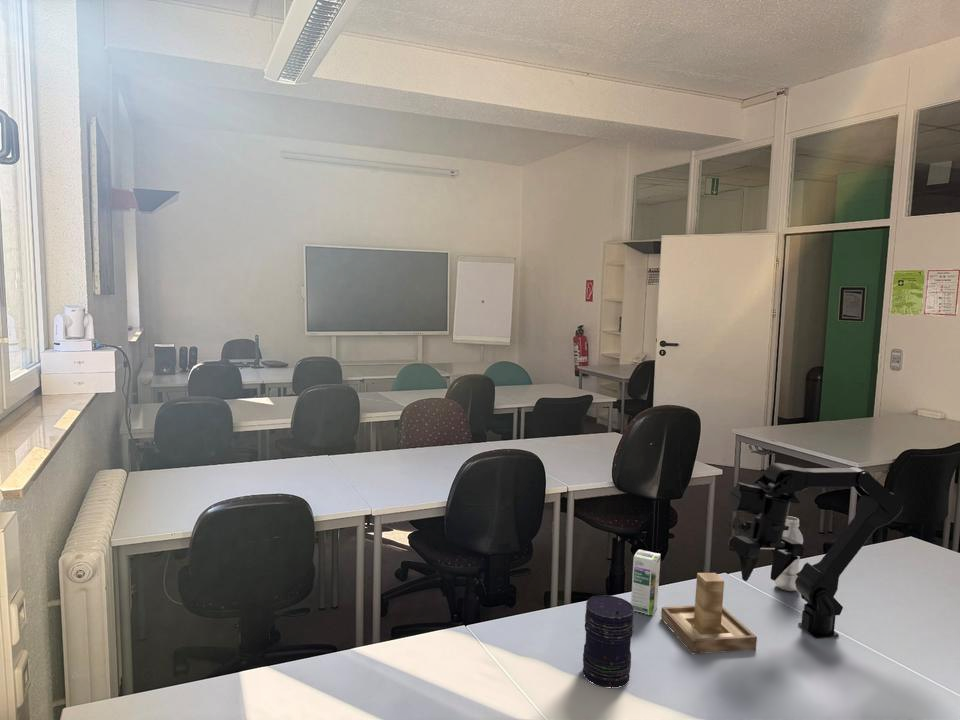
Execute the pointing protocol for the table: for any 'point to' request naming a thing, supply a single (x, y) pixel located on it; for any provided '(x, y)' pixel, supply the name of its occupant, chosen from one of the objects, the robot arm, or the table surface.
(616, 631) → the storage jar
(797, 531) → the plastic bottle
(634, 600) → the syrup box
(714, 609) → the peg
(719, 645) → the socket box
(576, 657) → the table surface
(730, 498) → the robot arm
